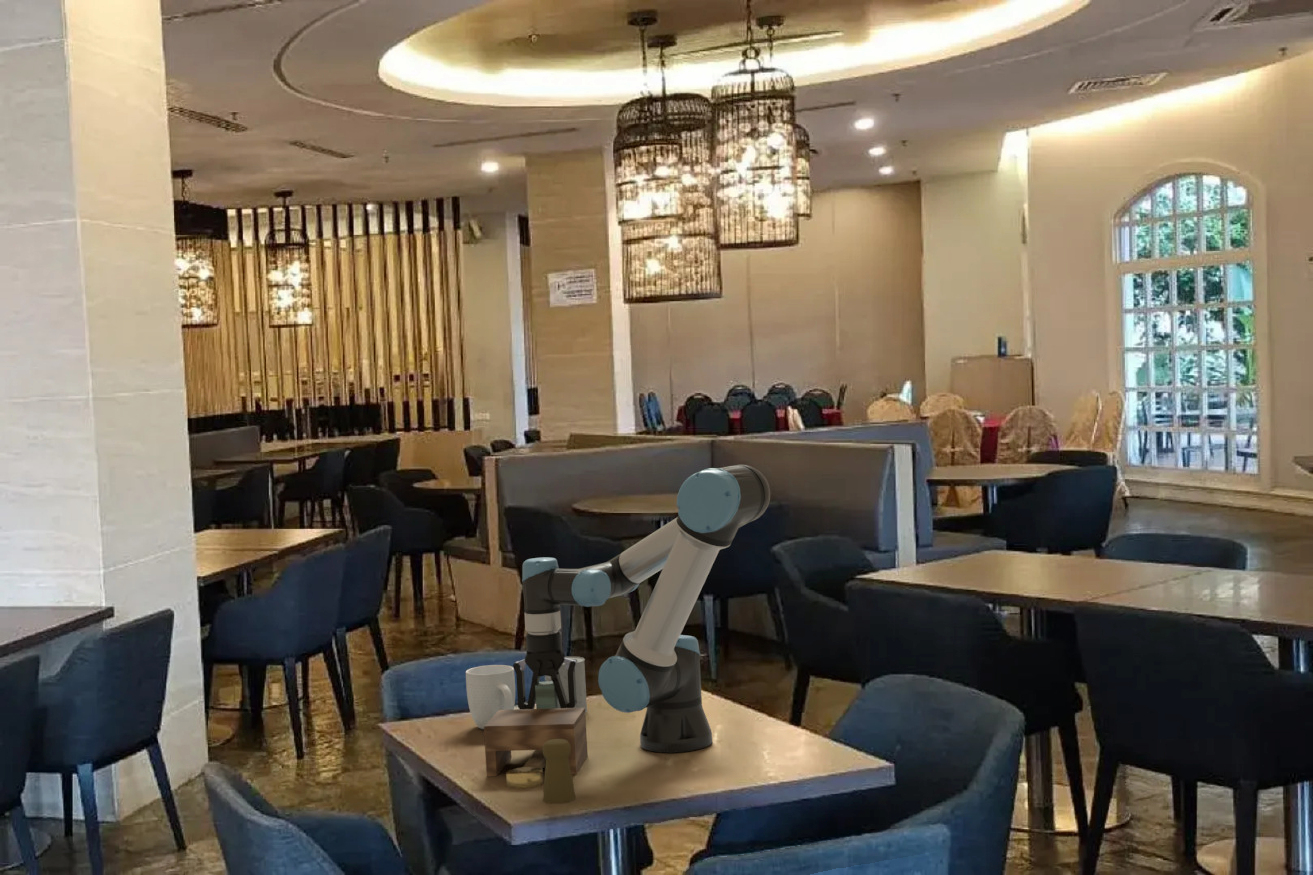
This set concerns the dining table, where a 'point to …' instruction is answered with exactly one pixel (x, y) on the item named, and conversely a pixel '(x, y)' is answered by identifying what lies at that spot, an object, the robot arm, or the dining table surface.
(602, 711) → the dining table surface
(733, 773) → the dining table surface
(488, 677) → the mug
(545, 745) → the cork
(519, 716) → the wooden bench
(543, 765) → the sweep tool
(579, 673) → the speckled white cylinder
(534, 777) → the token
